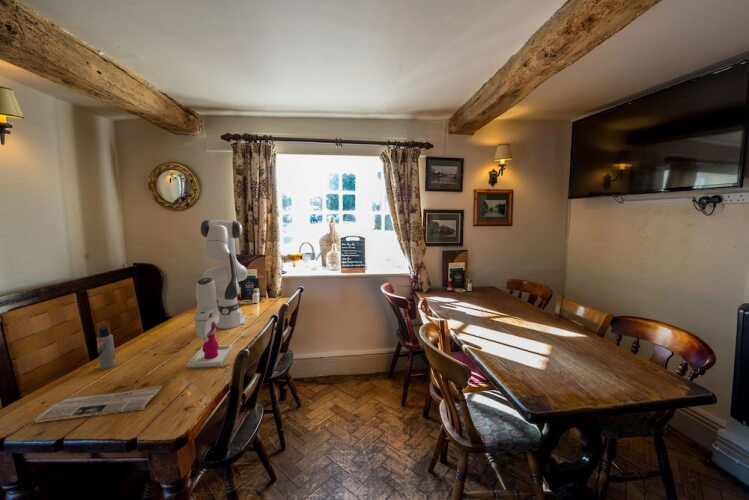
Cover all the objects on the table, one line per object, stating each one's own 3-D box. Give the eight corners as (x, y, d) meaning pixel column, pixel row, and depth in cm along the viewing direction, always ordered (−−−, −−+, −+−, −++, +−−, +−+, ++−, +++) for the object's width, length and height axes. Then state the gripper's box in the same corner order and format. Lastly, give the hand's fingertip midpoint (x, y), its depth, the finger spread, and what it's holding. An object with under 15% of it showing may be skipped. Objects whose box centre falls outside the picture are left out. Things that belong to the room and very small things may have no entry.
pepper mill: (212, 360, 145) (209, 321, 142) (199, 358, 146) (196, 320, 143) (222, 353, 152) (220, 316, 149) (210, 352, 153) (207, 315, 150)
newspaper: (34, 425, 103) (32, 416, 102) (63, 402, 115) (61, 394, 114) (149, 410, 110) (148, 401, 110) (164, 390, 122) (163, 383, 122)
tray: (202, 351, 156) (202, 346, 156) (232, 349, 158) (232, 344, 158) (187, 369, 138) (186, 364, 138) (220, 366, 141) (220, 361, 141)
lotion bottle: (115, 362, 145) (111, 323, 142) (116, 366, 141) (111, 326, 138) (100, 366, 141) (94, 326, 138) (100, 370, 137) (95, 330, 134)
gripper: (208, 304, 155) (210, 329, 157) (191, 318, 135) (194, 347, 137) (221, 304, 156) (223, 328, 158) (206, 317, 136) (208, 346, 138)
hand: (209, 337), depth 147 cm, fingers open, 8 cm apart
